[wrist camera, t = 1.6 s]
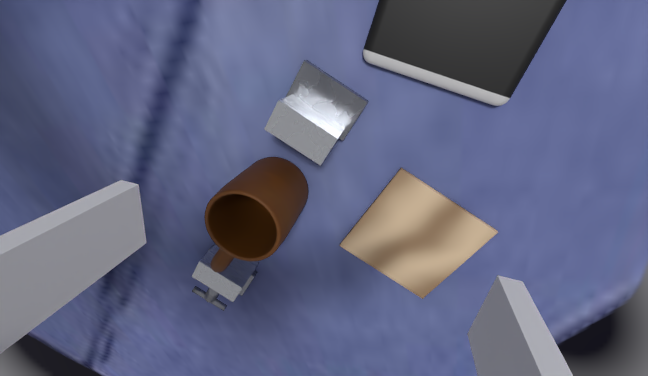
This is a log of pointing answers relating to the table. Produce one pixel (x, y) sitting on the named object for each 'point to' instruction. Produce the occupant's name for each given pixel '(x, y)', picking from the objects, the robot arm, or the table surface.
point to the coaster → (416, 234)
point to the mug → (255, 211)
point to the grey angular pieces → (306, 137)
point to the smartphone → (461, 42)
